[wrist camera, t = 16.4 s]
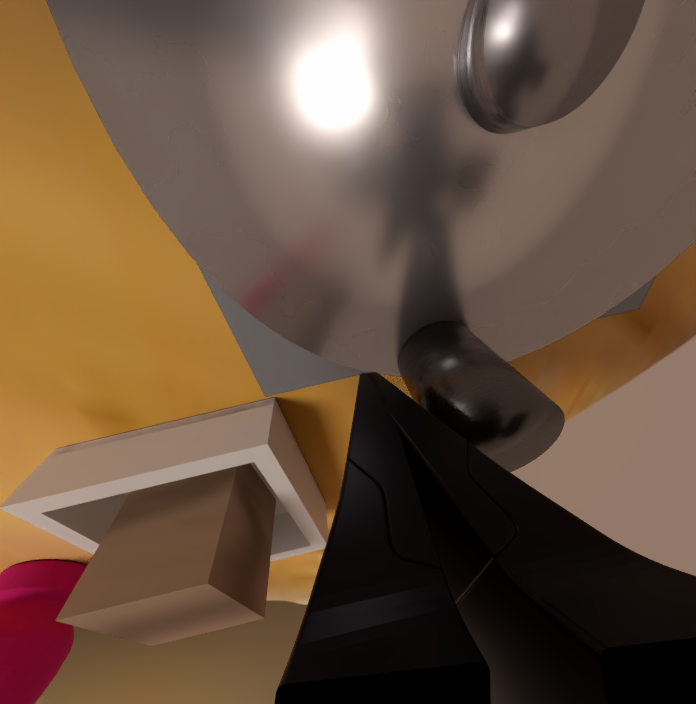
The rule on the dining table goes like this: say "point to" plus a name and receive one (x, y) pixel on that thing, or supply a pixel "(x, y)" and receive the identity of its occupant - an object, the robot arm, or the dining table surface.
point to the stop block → (180, 560)
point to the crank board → (301, 365)
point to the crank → (410, 173)
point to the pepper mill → (34, 626)
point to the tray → (175, 475)
